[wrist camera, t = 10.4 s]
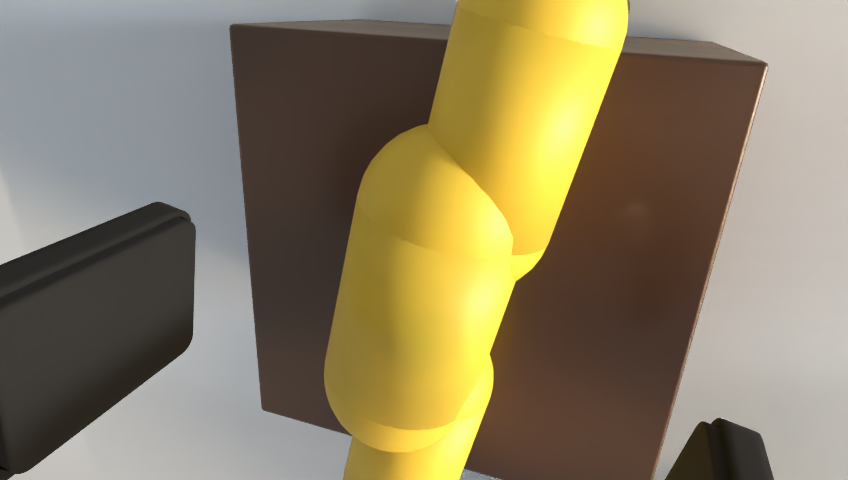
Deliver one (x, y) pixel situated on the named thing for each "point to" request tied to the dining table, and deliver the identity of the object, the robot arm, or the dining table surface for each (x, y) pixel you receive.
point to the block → (551, 276)
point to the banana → (461, 228)
